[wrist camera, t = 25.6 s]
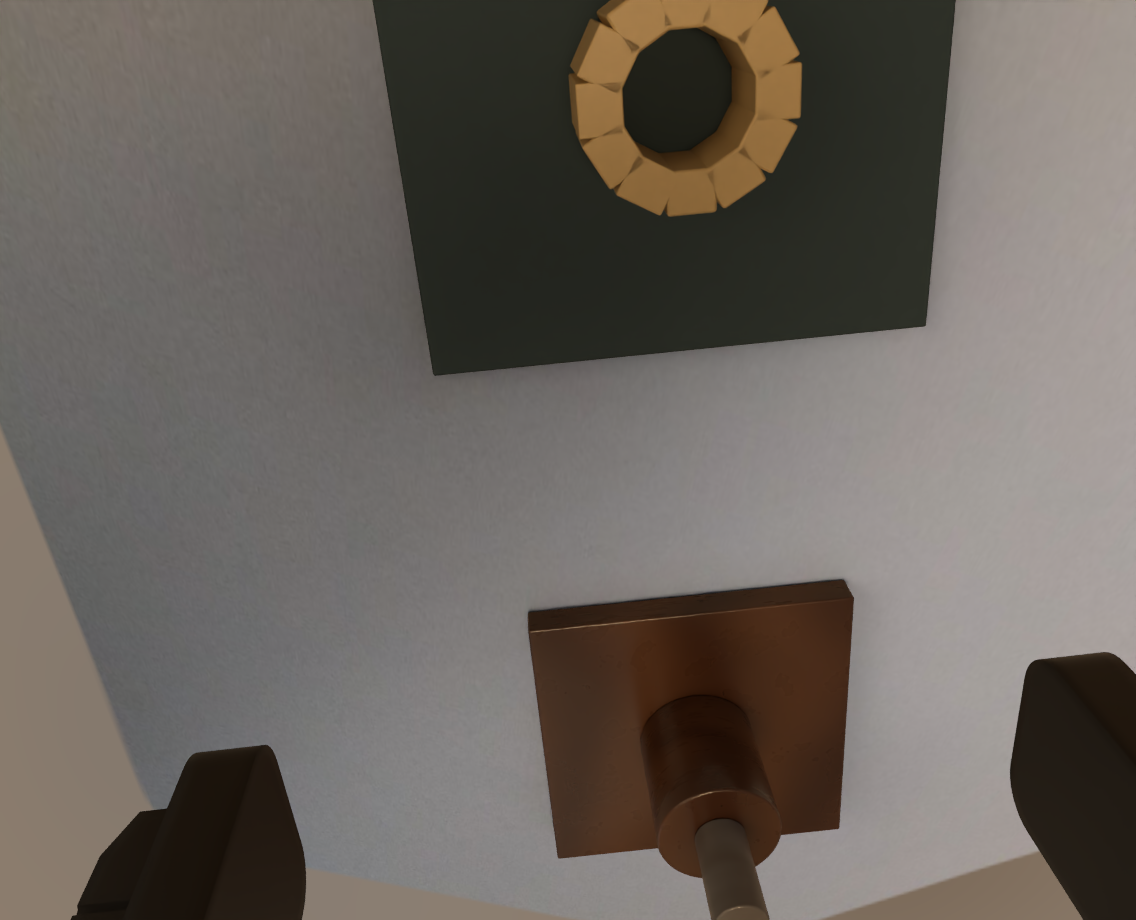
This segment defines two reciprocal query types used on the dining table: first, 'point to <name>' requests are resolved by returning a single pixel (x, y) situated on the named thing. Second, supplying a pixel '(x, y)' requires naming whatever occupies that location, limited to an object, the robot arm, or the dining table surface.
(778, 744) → the stand
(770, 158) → the segmented tan ring
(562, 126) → the mat
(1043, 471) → the dining table surface
